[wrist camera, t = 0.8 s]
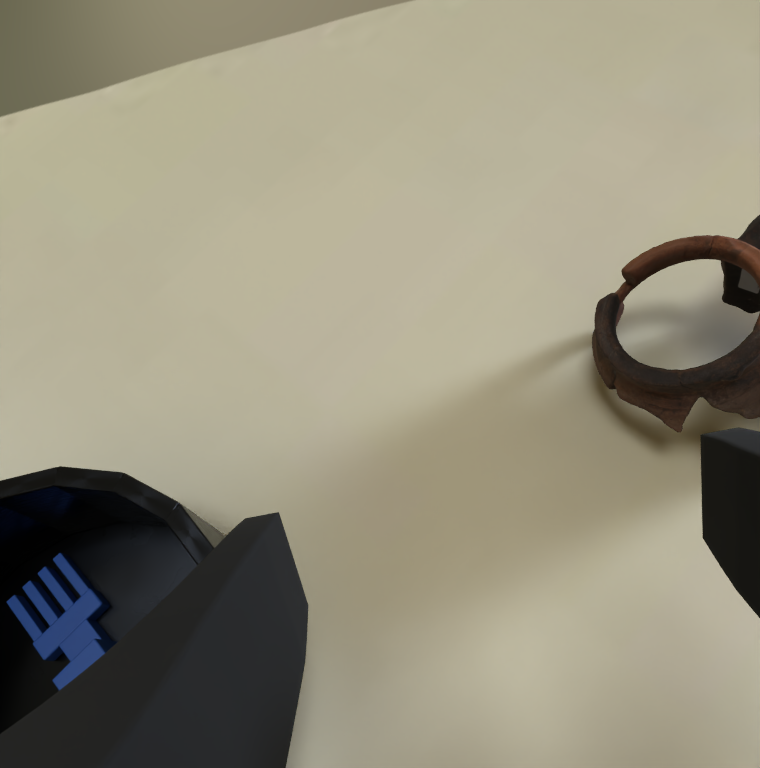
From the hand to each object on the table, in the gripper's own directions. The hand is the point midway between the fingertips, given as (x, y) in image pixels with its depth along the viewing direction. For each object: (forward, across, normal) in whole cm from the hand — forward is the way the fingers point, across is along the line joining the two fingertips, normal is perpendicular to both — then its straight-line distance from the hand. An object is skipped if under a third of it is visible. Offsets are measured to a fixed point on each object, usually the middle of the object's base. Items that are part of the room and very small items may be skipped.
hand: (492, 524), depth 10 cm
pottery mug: (+19, -13, +6) cm, 24 cm away
